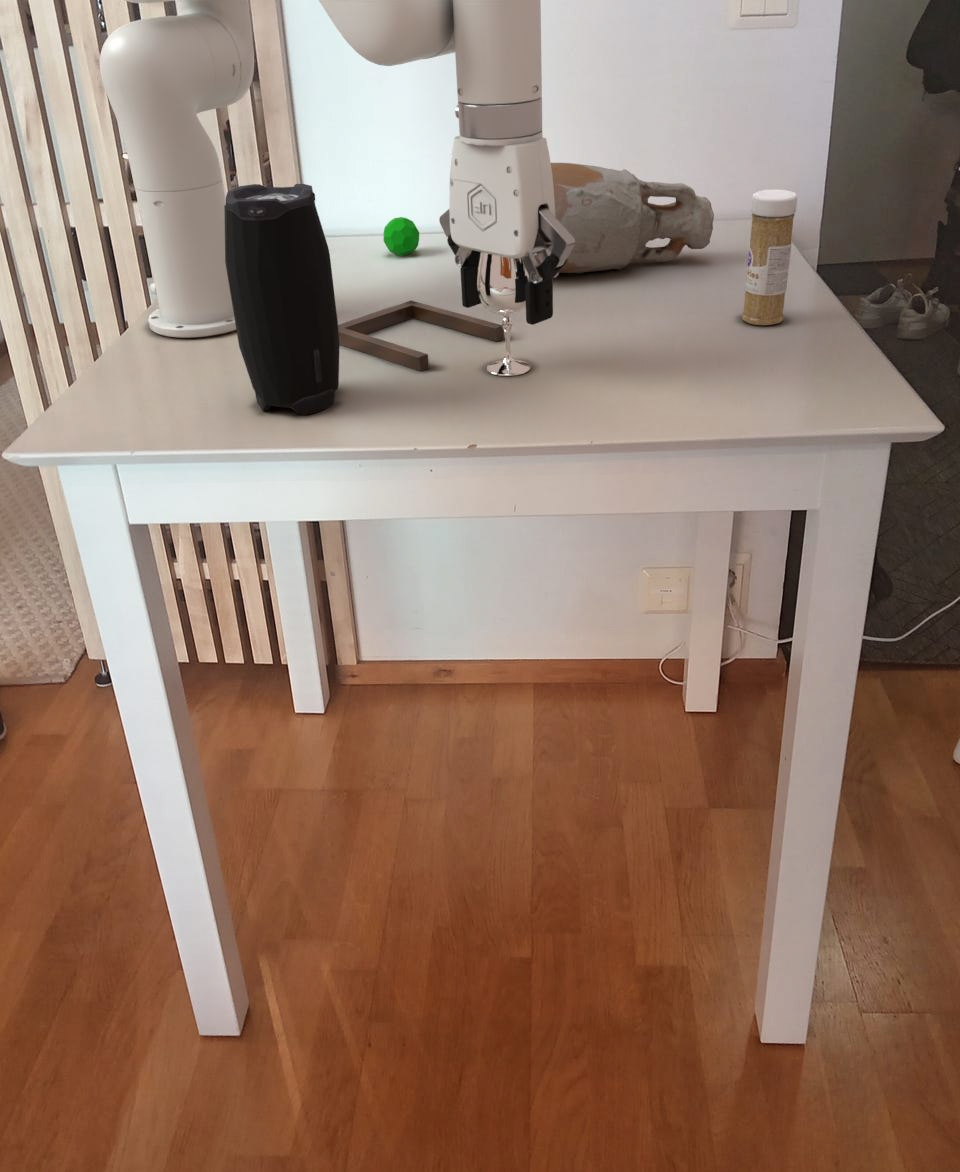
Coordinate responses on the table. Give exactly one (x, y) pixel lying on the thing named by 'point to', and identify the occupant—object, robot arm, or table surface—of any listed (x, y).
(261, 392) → the portable speaker
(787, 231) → the sprinkles bottle
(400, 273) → the table surface
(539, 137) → the robot arm
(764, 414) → the table surface
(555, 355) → the table surface
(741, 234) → the table surface
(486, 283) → the wineglass
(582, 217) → the amphora
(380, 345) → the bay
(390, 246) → the polyhedron
